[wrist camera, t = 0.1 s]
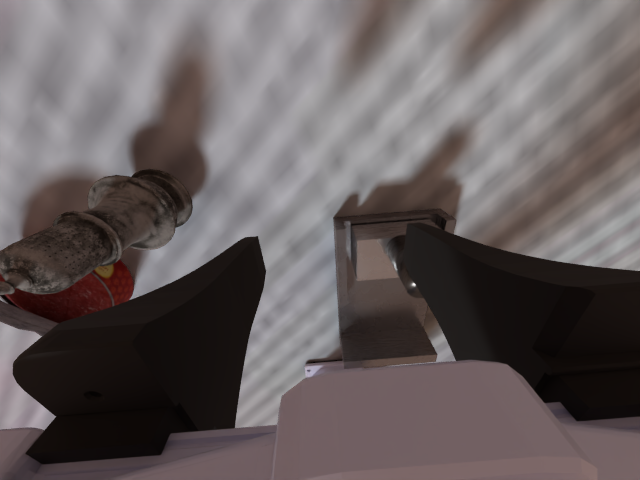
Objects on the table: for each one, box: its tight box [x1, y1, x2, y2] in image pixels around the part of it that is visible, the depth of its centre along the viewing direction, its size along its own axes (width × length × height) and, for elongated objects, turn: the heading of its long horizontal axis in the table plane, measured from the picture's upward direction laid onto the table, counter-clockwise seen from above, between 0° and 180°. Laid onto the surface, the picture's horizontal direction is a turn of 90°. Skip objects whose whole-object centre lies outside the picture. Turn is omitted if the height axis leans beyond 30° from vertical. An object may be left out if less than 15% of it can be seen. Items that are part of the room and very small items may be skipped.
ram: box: [352, 219, 442, 298], centre depth 18 cm, size 4×7×7 cm, turn 94°
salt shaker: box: [0, 169, 192, 295], centre depth 15 cm, size 6×6×12 cm
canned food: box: [0, 250, 134, 336], centre depth 21 cm, size 11×10×10 cm
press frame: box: [333, 209, 456, 369], centre depth 23 cm, size 16×10×4 cm, turn 4°
